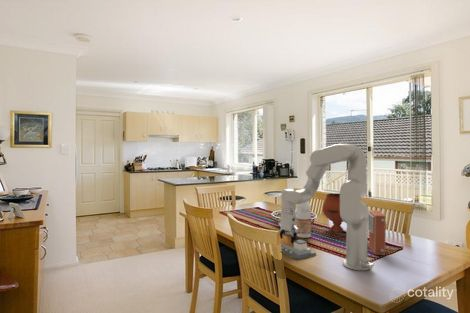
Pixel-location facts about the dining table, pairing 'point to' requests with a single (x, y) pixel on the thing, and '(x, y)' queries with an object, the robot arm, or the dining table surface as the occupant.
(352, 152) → the robot arm
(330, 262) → the dining table surface
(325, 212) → the goblet
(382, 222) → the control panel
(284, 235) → the orange short cylinder
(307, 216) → the fruit juice
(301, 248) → the breaker handle
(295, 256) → the breaker panel
